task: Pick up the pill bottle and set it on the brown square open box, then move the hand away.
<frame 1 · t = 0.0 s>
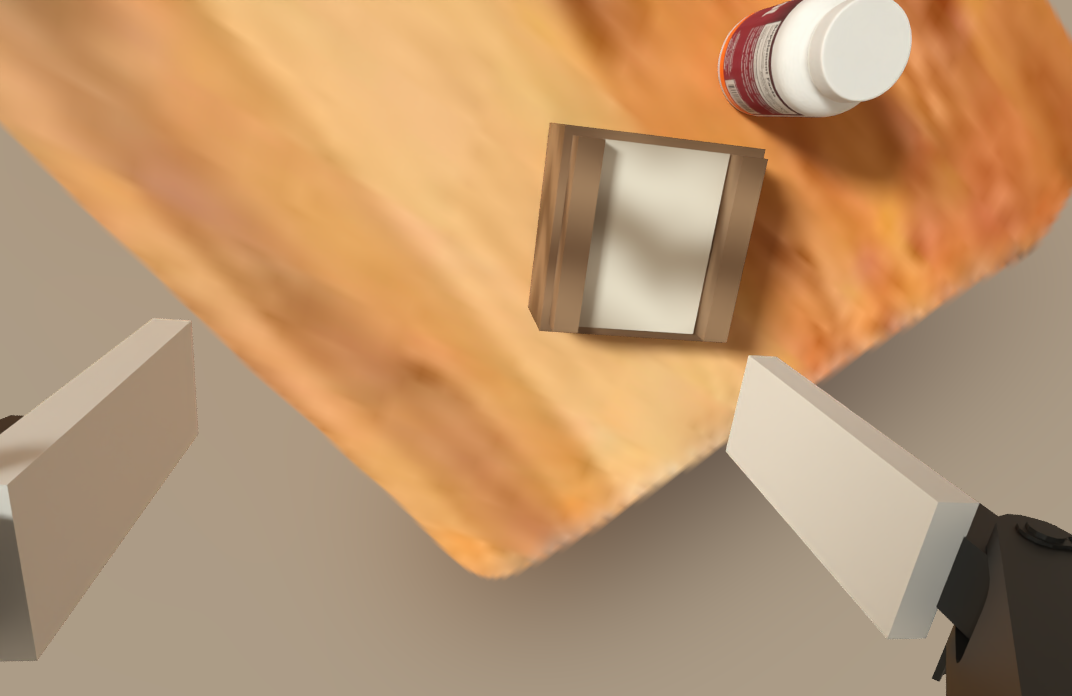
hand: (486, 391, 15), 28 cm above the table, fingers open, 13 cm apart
pill bottle: (758, 64, 41), on the table
brown square open box: (626, 227, 43), on the table
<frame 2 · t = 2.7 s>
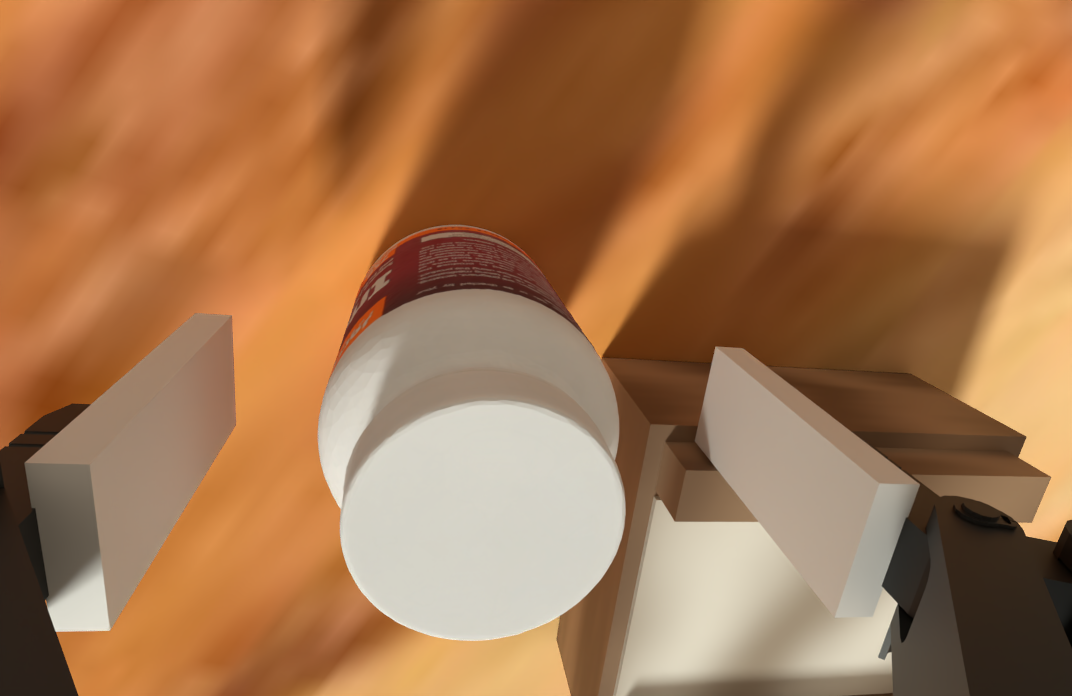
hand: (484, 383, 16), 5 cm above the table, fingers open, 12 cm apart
pill bottle: (454, 317, 21), on the table
brown square open box: (728, 510, 25), on the table
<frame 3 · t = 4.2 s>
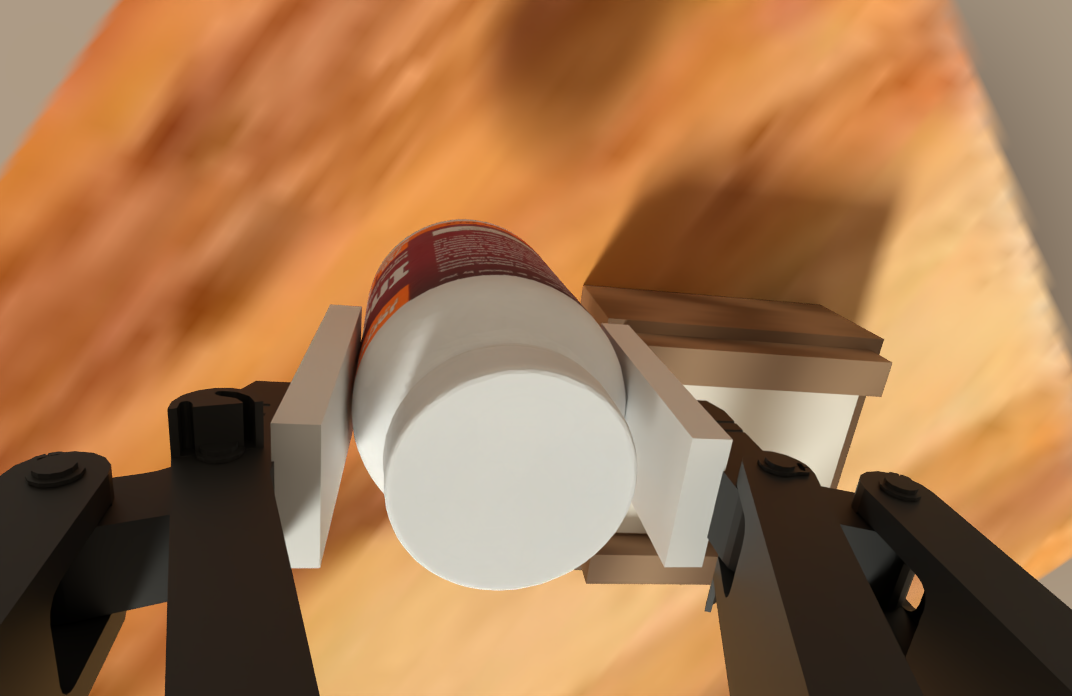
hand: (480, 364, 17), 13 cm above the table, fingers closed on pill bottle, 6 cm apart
pill bottle: (461, 307, 22), point 7 cm above the table, touching gripper
brown square open box: (681, 408, 33), on the table
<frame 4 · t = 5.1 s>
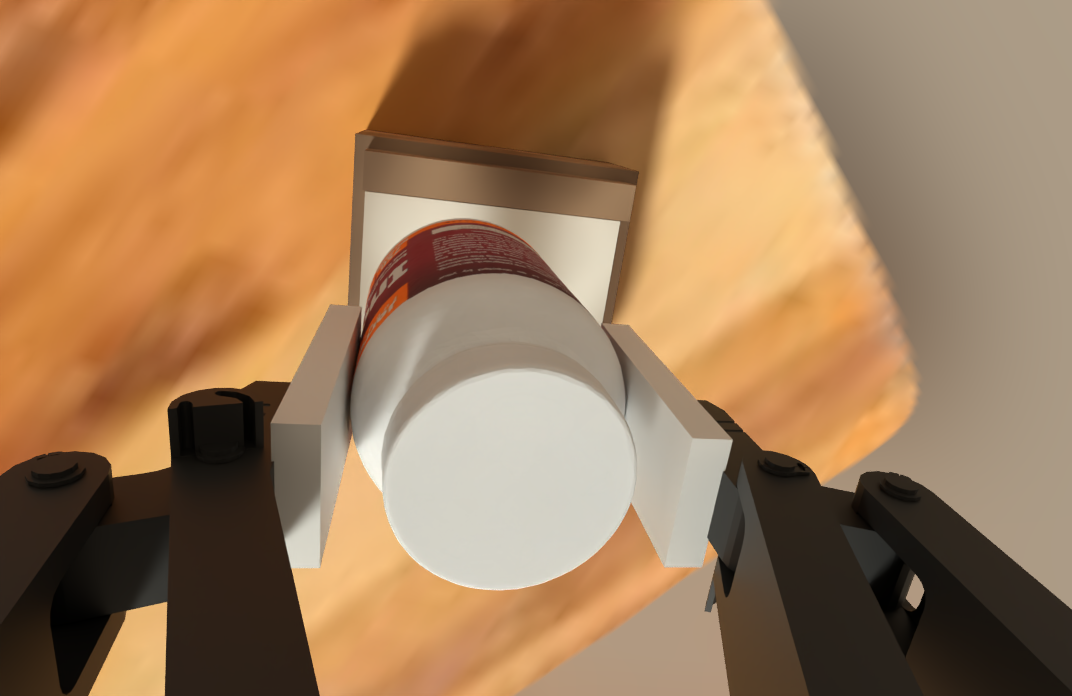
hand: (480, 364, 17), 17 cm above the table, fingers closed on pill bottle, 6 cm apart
pill bottle: (461, 306, 22), point 12 cm above the table, touching gripper
brown square open box: (478, 266, 34), on the table
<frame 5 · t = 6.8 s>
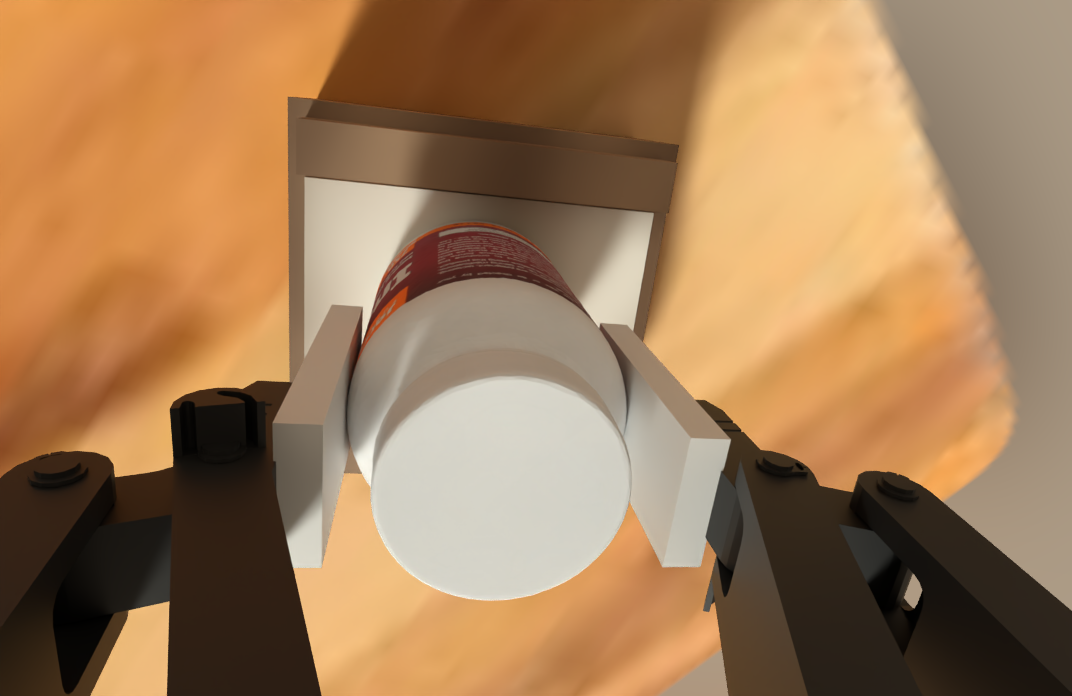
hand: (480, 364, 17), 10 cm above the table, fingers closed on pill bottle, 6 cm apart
pill bottle: (470, 309, 22), point 5 cm above the table, touching brown square open box, gripper
brown square open box: (468, 274, 26), on the table
when the fingers open (10 cm above the table, at t = 7.3 s): pill bottle stays where it is, resting on brown square open box.
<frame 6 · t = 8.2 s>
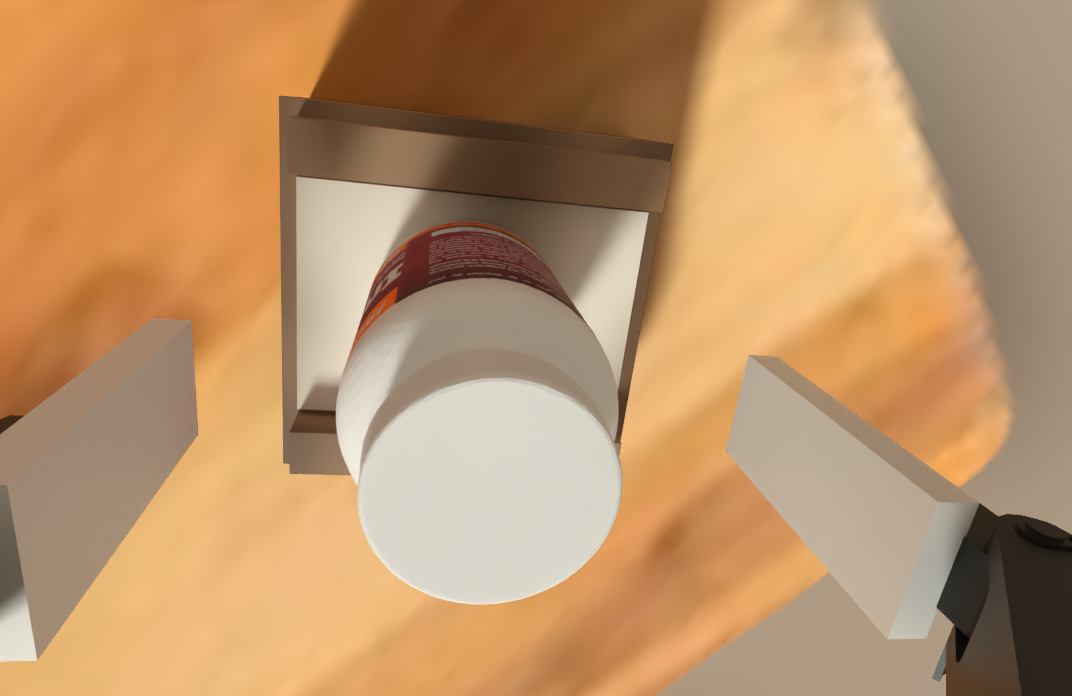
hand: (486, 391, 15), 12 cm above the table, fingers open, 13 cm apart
pill bottle: (464, 309, 22), point 5 cm above the table, touching brown square open box
brown square open box: (463, 274, 26), on the table
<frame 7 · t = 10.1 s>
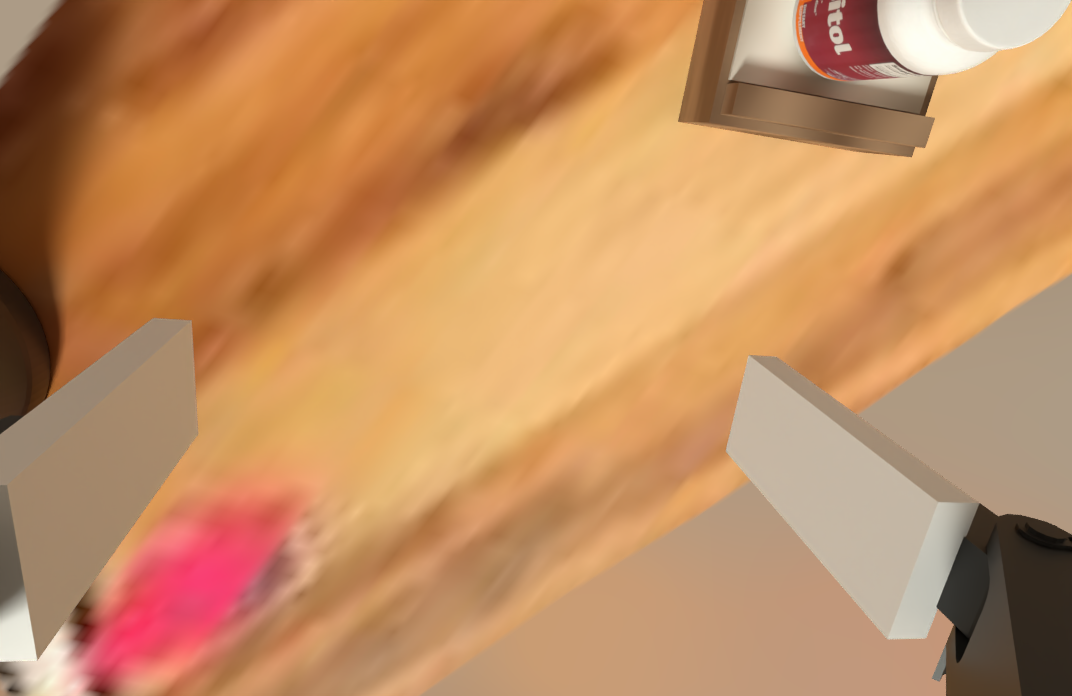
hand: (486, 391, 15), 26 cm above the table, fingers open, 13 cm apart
pill bottle: (843, 17, 33), point 5 cm above the table, touching brown square open box
brown square open box: (798, 30, 38), on the table
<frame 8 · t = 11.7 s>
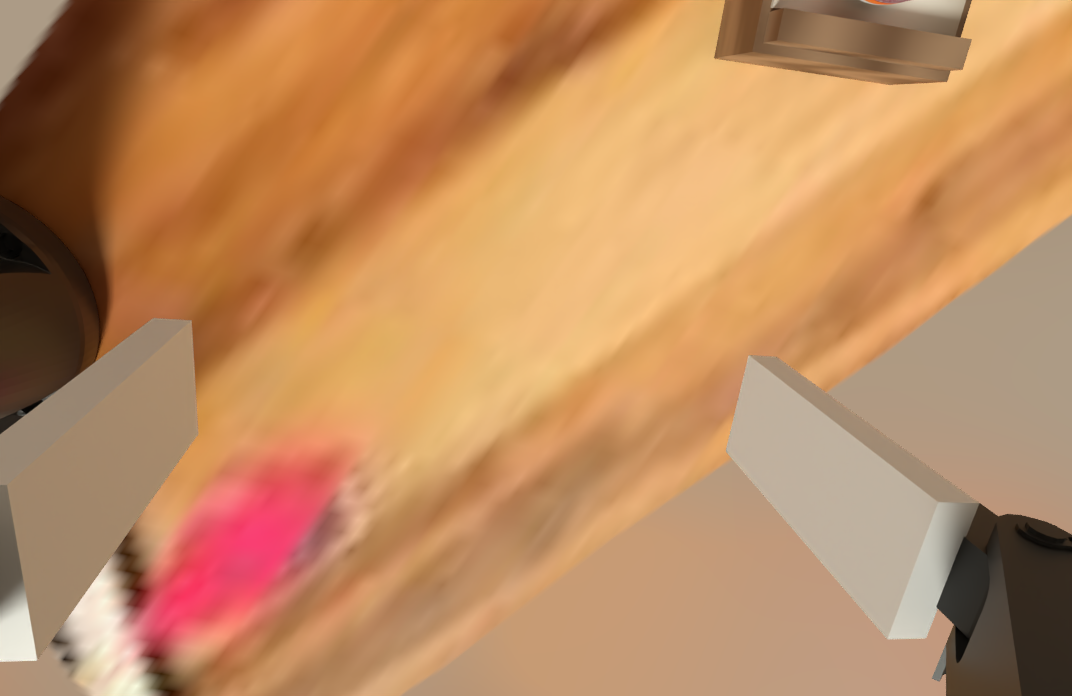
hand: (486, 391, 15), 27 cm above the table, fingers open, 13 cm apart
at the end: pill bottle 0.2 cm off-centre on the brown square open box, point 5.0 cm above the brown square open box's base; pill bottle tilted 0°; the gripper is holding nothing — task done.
